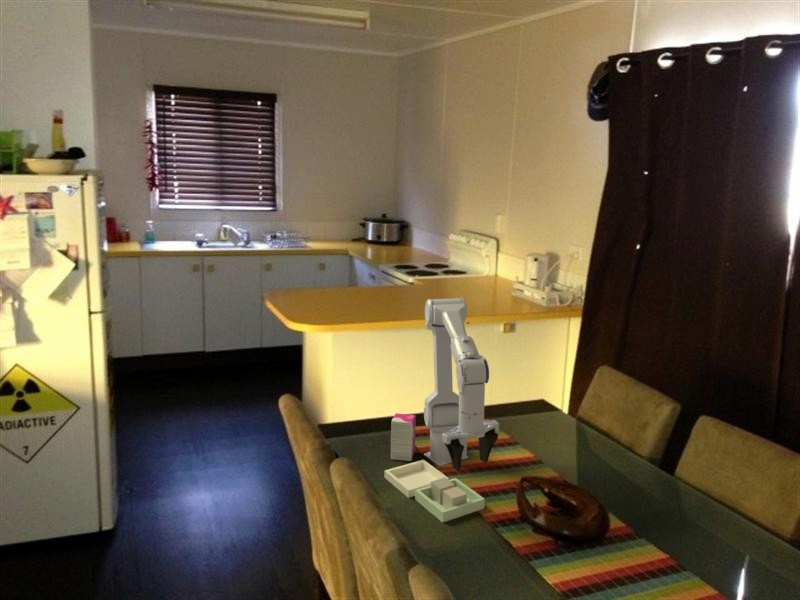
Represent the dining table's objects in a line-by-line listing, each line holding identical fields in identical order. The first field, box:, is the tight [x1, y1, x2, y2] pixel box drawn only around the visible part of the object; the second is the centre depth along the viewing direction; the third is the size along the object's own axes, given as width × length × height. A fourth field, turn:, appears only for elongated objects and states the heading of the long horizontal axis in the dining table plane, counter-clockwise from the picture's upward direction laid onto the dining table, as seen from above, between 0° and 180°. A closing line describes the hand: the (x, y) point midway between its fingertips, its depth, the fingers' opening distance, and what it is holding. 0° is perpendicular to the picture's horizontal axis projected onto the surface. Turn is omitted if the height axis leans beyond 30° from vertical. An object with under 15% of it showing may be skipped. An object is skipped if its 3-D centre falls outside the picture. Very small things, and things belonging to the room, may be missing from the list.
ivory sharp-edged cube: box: [442, 487, 467, 509], centre depth 158 cm, size 4×4×4 cm
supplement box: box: [390, 413, 417, 462], centre depth 183 cm, size 6×6×12 cm
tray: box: [384, 459, 450, 499], centre depth 170 cm, size 12×12×2 cm
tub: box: [414, 477, 485, 523], centre depth 160 cm, size 12×12×3 cm
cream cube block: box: [431, 478, 454, 504], centre depth 162 cm, size 4×4×4 cm
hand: (470, 464), depth 158 cm, fingers open, 7 cm apart
